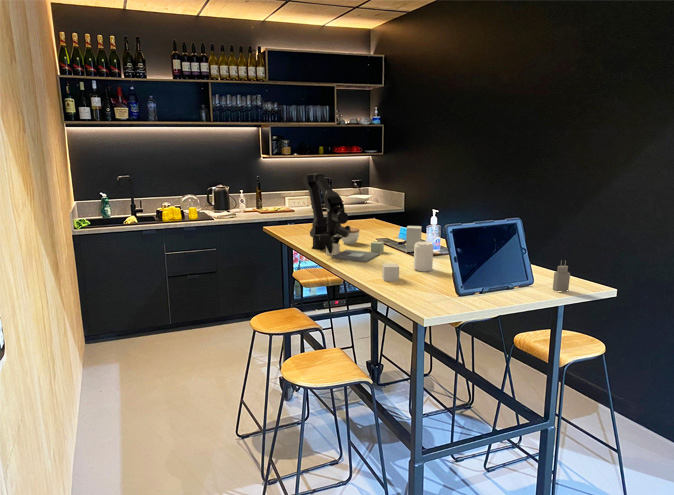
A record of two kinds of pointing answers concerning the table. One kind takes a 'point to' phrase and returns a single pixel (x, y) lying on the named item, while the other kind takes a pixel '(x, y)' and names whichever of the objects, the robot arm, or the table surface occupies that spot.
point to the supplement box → (412, 237)
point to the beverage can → (423, 256)
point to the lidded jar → (351, 236)
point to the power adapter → (561, 278)
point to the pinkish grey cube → (390, 272)
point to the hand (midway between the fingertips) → (332, 252)
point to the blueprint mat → (356, 255)
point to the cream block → (334, 249)
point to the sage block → (377, 247)
